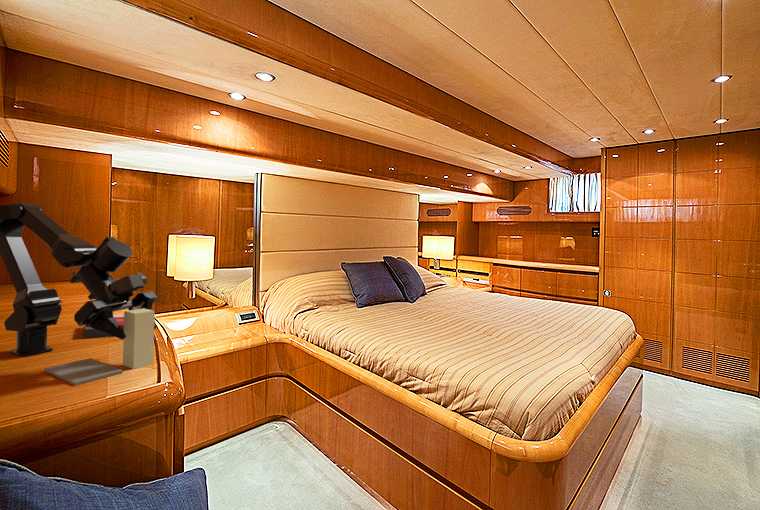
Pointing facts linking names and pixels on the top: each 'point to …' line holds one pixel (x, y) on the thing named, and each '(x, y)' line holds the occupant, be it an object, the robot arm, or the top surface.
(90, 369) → the mat
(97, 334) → the black red white box
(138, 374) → the top surface
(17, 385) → the top surface
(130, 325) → the block
